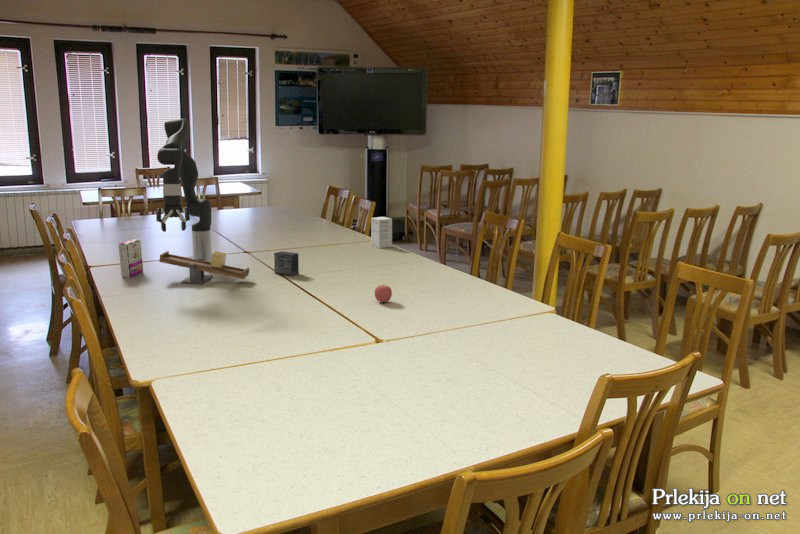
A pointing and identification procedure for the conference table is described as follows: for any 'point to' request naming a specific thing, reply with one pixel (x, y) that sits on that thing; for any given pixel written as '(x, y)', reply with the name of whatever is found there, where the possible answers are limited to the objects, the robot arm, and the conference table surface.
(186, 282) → the pivot stand
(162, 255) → the beam
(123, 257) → the candy bar box
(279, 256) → the small box
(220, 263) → the wooden block
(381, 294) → the apple
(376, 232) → the supplement box
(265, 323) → the conference table surface
